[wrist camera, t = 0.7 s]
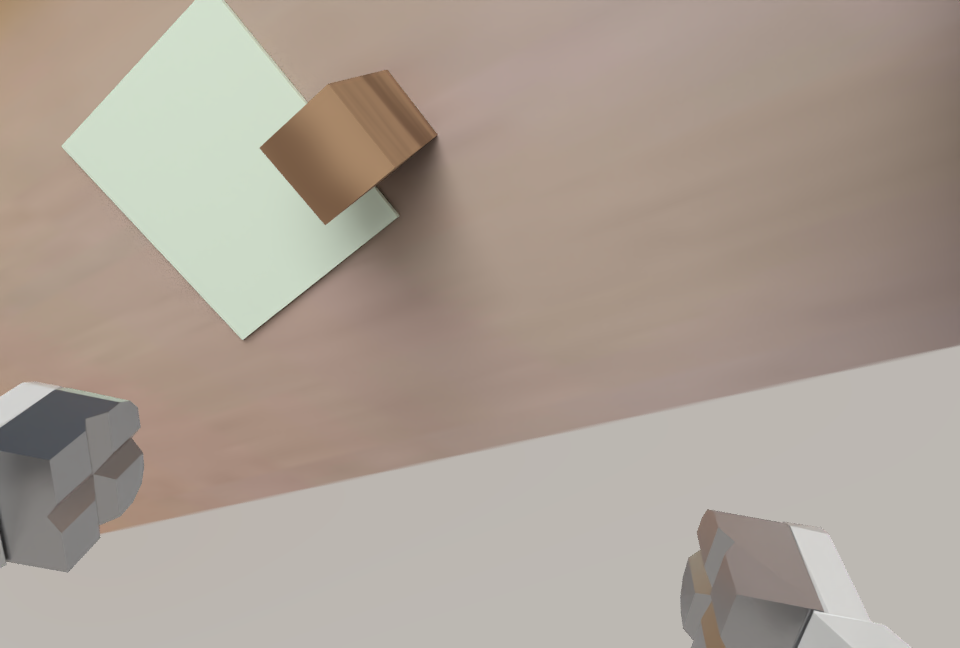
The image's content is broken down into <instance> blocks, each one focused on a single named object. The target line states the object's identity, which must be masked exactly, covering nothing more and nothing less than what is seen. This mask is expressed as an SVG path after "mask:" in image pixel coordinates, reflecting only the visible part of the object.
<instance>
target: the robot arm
mask: <svg viewBox="0 0 960 648" xmlns="http://www.w3.org/2000/svg"><path fill="white" fill-rule="evenodd" d="M139 428H140V420H139V413H138V407H137V406H135V405H134V404H133V403H132V402H131V401H129V400H124V399H119V398H114V397H110V396H105V395H100V394H95V393H91V392H86V391H81V390H76V389H71V388H64V387H61V386H56V385H51V384H46V383H40V382H23V383H21V384H20V385H18V386H16V387H15V388H13V389H12V390H10V391H9V392H7V393H5V394H4V395H2V396H1V397H0V568H1V567H3V566H5V565H6V562H12V563H17V564H23V565H29V566H35V567H40V568H46V569H51V570H57V571H63V572H69V571H70V569H72V568H73V566H74V565H75V564H76V563H77V562H78V561H79V560H80V559H81V558H82V557H83V556H84V555H85V554H86V553H87V551H88V550H89V549H90V548H91V547H92V546H93V545H94V544H95V543H96V542H97V541H98V540H99V538H100V525H101V524H103V523H106V522H108V521H111V520H113V519H115V518H118V517H120V516H121V515H122V514H123V513H124V512H125V510H126V509H127V508H128V507H129V506H130V505H131V504H132V503H133V501H134V499H135V496H136V494H137V492H138V490H139V488H140V486H141V484H142V478H143V471H144V460H143V452H142V451H141V450H140V448H139V447H138V446H137V445H136V443H135V442H134V441H133V439H132V437H133V436H134V435H135V433H136V432H137V431H138V430H139ZM697 535H698V540H699V544H700V549H701V550H700V551H698V552H696V553H695V554H694V555H692V556H691V557H689V558H688V561H687V565H686V569H685V572H684V575H683V581H682V589H681V597H680V598H681V617H682V623H683V629H684V630H685V631H686V632H687V633H688V634H689V636H690V637H691V638H692V639H693V640H694V641H693V644H692V647H691V648H912V647H911V646H909V645H908V644H907V643H906V642H905V641H903V640H902V639H901V638H900V637H899V636H897V635H896V634H895V633H894V632H892V631H891V630H890V629H889V628H888V627H887V626H885V625H883V624H879V623H874V622H872V621H871V619H870V617H869V615H868V613H867V611H866V609H865V607H864V605H863V603H862V601H861V599H860V597H859V595H858V593H857V591H856V589H855V587H854V584H853V583H852V580H851V578H850V576H849V574H848V572H847V570H846V568H845V566H844V564H843V562H842V560H841V558H840V556H839V554H838V552H837V550H836V548H835V546H834V544H833V542H832V540H831V538H830V536H829V534H828V533H827V532H826V531H825V530H824V529H822V528H820V527H814V526H808V525H801V524H795V523H789V522H782V523H781V522H776V521H770V520H764V519H759V518H753V517H748V516H742V515H737V514H731V513H725V512H720V511H714V510H707V511H706V512H705V514H704V516H703V517H702V519H701V522H700V525H699V528H698V531H697Z"/></svg>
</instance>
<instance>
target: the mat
mask: <svg viewBox="0 0 960 648" xmlns="http://www.w3.org/2000/svg"><path fill="white" fill-rule="evenodd" d="M307 103H308V102H307V101H306V100H305V99H304V98H303V96H302V95H301V94H300V93H299V91H298V90H297V89H296V88H295V86H294V85H293V84H292V83H291V82H290V80H289V79H288V78H287V77H286V75H285V74H284V73H283V72H282V71H281V69H280V68H279V67H278V66H277V64H276V63H275V62H274V61H273V60H272V58H271V57H270V56H269V55H268V53H267V52H266V51H265V50H264V48H263V47H262V46H261V45H260V44H259V42H258V41H257V40H256V39H255V37H254V36H253V35H252V34H251V33H250V31H249V30H248V29H247V28H246V26H245V25H244V24H243V23H242V22H241V20H240V19H239V18H238V17H237V15H236V14H235V13H234V12H233V11H232V9H231V8H230V7H229V6H228V4H227V3H226V2H225V1H224V0H195V1H194V2H193V3H192V4H191V5H190V6H189V7H188V9H187V10H186V11H185V12H184V13H183V14H182V15H181V16H180V17H179V18H178V19H177V21H176V22H175V23H174V24H173V25H172V26H171V27H170V28H169V29H168V30H167V31H166V33H165V34H164V35H163V36H162V37H161V38H160V39H159V40H158V41H157V42H156V43H155V45H154V46H153V47H152V48H151V49H150V50H149V51H148V52H147V53H146V54H145V55H144V57H143V58H142V59H141V60H140V61H139V62H138V63H137V64H136V65H135V66H134V67H133V69H132V70H131V71H130V72H129V73H128V74H127V75H126V76H125V77H124V78H123V79H122V81H121V82H120V83H119V84H118V85H117V86H116V87H115V88H114V89H113V90H112V91H111V93H110V94H109V95H108V96H107V97H106V98H105V99H104V100H103V101H102V102H101V103H100V105H99V106H98V107H97V108H96V109H95V110H94V111H93V112H92V113H91V114H90V115H89V117H88V118H87V119H86V120H85V121H84V122H83V123H82V124H81V125H80V126H79V127H78V129H77V130H76V131H75V132H74V133H73V134H72V135H71V136H70V137H69V138H68V139H67V141H66V142H65V143H64V144H63V145H62V148H63V149H64V150H65V151H66V152H67V153H68V154H69V155H70V156H71V157H72V158H73V159H74V160H75V161H76V163H77V164H78V165H79V166H80V167H81V168H82V169H83V170H84V171H85V172H86V173H87V174H88V175H89V176H90V178H91V179H92V180H93V181H94V182H95V183H96V184H97V185H98V186H99V187H100V188H101V189H102V190H103V191H104V192H105V194H106V195H107V196H108V197H109V198H110V199H111V200H112V201H113V202H114V203H115V204H116V205H117V206H118V207H119V209H120V210H121V211H122V212H123V213H124V214H125V215H126V216H127V217H128V218H129V219H130V220H131V221H132V222H133V224H134V225H135V226H136V227H137V228H138V229H139V230H140V231H141V232H142V233H143V234H144V235H145V236H146V237H147V238H148V240H149V241H150V242H151V243H152V244H153V245H154V246H155V247H156V248H157V249H158V250H159V251H160V252H161V253H162V255H163V256H164V257H165V258H166V259H167V260H168V261H169V262H170V263H171V264H172V265H173V266H174V267H175V268H176V270H177V271H178V272H179V273H180V274H181V275H182V276H183V277H184V278H185V279H186V280H187V281H188V282H189V283H190V284H191V286H192V287H193V288H194V289H195V290H196V291H197V292H198V293H199V294H200V295H201V296H202V297H203V298H204V299H205V301H206V302H207V303H208V304H209V305H210V306H211V307H212V308H213V309H214V310H215V311H216V312H217V313H218V314H219V316H220V317H221V318H222V319H223V320H224V321H225V322H226V323H227V324H228V325H229V326H230V327H231V328H232V329H233V330H234V332H235V333H236V334H237V335H238V336H239V337H240V338H241V339H242V340H243V339H244V338H246V337H247V336H248V335H249V334H251V333H252V332H253V331H255V330H256V329H257V328H258V327H260V326H261V325H262V324H263V323H265V322H266V321H267V320H268V319H270V318H271V317H272V316H273V315H275V314H276V313H277V312H279V311H280V310H281V309H282V308H284V307H285V306H286V305H287V304H289V303H290V302H291V301H292V300H294V299H295V298H296V297H298V296H299V295H300V294H301V293H303V292H304V291H305V290H306V289H308V288H309V287H310V286H311V285H313V284H314V283H315V282H316V281H318V280H319V279H320V278H322V277H323V276H324V275H325V274H327V273H328V272H329V271H330V270H332V269H333V268H334V267H335V266H337V265H338V264H339V263H341V262H342V261H343V260H344V259H346V258H347V257H348V256H349V255H351V254H352V253H353V252H354V251H356V250H357V249H358V248H359V247H361V246H362V245H363V244H365V243H366V242H367V241H368V240H370V239H371V238H372V237H373V236H375V235H376V234H377V233H378V232H380V231H381V230H382V229H384V228H385V227H386V226H387V225H389V224H390V223H391V222H392V221H394V220H395V219H396V218H397V217H399V216H400V215H399V214H398V213H397V211H396V210H395V209H394V208H393V207H392V205H391V204H390V203H389V202H388V200H387V199H386V198H385V197H384V196H383V194H382V193H381V192H380V191H379V189H378V188H377V187H376V186H375V187H373V188H372V189H371V190H370V191H368V192H367V193H366V194H365V195H363V196H362V197H361V198H359V199H358V200H357V201H356V202H354V203H353V204H352V205H351V206H349V207H348V208H347V209H345V210H344V211H343V212H342V213H340V214H339V215H338V216H337V217H335V218H334V219H333V220H331V221H330V222H329V223H328V224H326V225H324V223H323V222H322V221H321V220H320V219H319V218H318V216H317V215H316V214H315V213H314V212H313V210H312V209H311V208H310V207H309V206H308V205H307V203H306V202H305V201H304V200H303V199H302V198H301V196H300V195H299V194H298V193H297V192H296V191H295V189H294V188H293V187H292V186H291V185H290V183H289V182H288V181H287V180H286V179H285V178H284V176H283V175H282V174H281V173H280V172H279V171H278V169H277V168H276V167H275V166H274V165H273V164H272V162H271V161H270V160H269V159H268V158H267V157H266V155H265V154H264V153H263V152H262V151H261V149H260V147H261V146H262V145H263V144H264V143H265V142H266V141H267V140H268V139H269V138H270V137H271V136H273V135H274V134H275V133H276V132H277V131H278V130H279V129H280V128H281V127H282V126H283V125H284V124H286V123H287V122H288V121H289V120H290V119H291V118H292V117H293V116H294V115H295V114H296V113H297V112H298V111H300V110H301V109H302V108H303V107H304V106H305V105H306V104H307Z"/></svg>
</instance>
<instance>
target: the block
mask: <svg viewBox="0 0 960 648" xmlns="http://www.w3.org/2000/svg"><path fill="white" fill-rule="evenodd" d="M436 136H437V133H436V132H435V131H434V130H433V128H432V127H431V126H430V124H429V123H428V122H427V120H426V119H425V118H424V117H423V115H422V114H421V113H420V111H419V110H418V109H417V108H416V106H415V105H414V104H413V102H412V101H411V100H410V98H409V97H408V96H407V95H406V93H405V92H404V91H403V89H402V88H401V87H400V86H399V84H398V83H397V82H396V80H395V79H394V78H393V76H392V75H391V74H390V73H389V71H388V70H384V71H380V72H376V73H372V74H367V75H363V76H359V77H355V78H351V79H347V80H343V81H338V82H334V83H330V84H328V85H327V86H325V87H324V88H323V89H322V90H321V91H320V92H319V93H318V94H317V95H316V96H315V97H314V98H313V99H311V100H310V101H309V102H308V103H307V104H306V105H305V106H304V107H303V108H302V109H301V110H300V111H298V112H297V113H296V114H295V115H294V116H293V117H292V118H291V119H290V120H289V121H288V122H287V123H286V124H284V125H283V126H282V127H281V128H280V129H279V130H278V131H277V132H276V133H275V134H274V135H273V136H271V137H270V138H269V139H268V140H267V141H266V142H265V143H264V144H263V145H262V146H261V147H260V149H261V151H262V152H263V153H264V154H265V155H266V157H267V158H268V159H269V160H270V161H271V162H272V164H273V165H274V166H275V167H276V168H277V169H278V171H279V172H280V173H281V174H282V175H283V176H284V178H285V179H286V180H287V181H288V182H289V183H290V185H291V186H292V187H293V188H294V189H295V191H296V192H297V193H298V194H299V195H300V196H301V198H302V199H303V200H304V201H305V202H306V203H307V205H308V206H309V207H310V208H311V209H312V210H313V212H314V213H315V214H316V215H317V216H318V218H319V219H320V220H321V221H322V222H323V223H324V225H326V224H328V223H329V222H330V221H331V220H333V219H334V218H335V217H337V216H338V215H339V214H340V213H342V212H343V211H344V210H345V209H347V208H348V207H349V206H351V205H352V204H353V203H354V202H356V201H357V200H358V199H359V198H361V197H362V196H363V195H365V194H366V193H367V192H368V191H370V190H371V189H372V188H373V187H375V186H376V185H377V184H379V183H380V182H381V181H382V180H383V179H385V178H386V177H387V176H388V175H390V174H391V173H392V172H393V171H394V170H396V169H397V168H398V167H399V166H400V165H402V164H403V163H404V162H405V161H407V160H408V159H409V158H410V157H411V156H413V155H414V154H415V153H416V152H417V151H419V150H420V149H421V148H422V147H424V146H425V145H426V144H427V143H428V142H430V141H431V140H432V139H433V138H434V137H436Z"/></svg>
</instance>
